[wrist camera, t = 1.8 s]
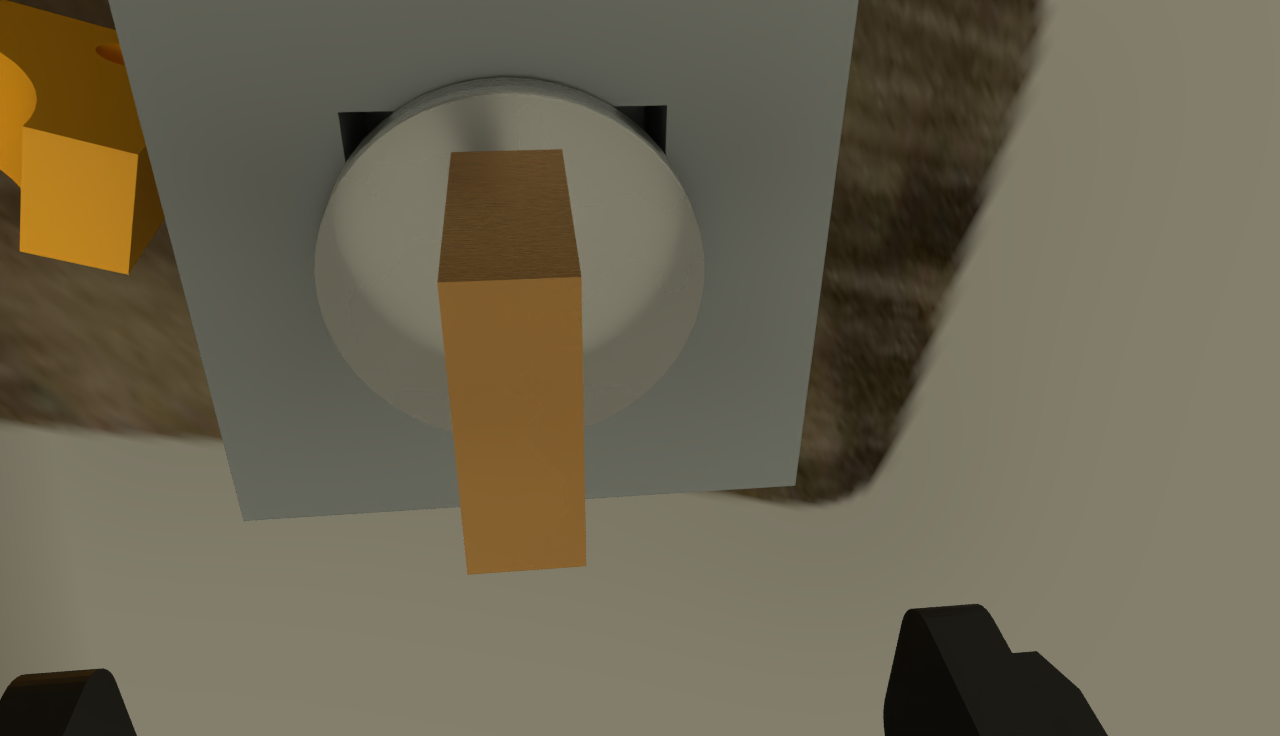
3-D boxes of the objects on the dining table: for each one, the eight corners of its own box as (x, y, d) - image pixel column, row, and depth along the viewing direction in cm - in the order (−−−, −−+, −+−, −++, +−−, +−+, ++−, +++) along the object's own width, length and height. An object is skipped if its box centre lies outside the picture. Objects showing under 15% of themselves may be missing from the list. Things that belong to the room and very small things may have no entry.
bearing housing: (211, -154, 21) (83, -96, 15) (761, -151, 23) (871, -95, 16) (303, 329, 28) (243, 521, 21) (727, 310, 29) (794, 485, 23)
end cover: (321, 29, 19) (213, 222, 12) (677, 25, 20) (781, 204, 12) (367, 337, 23) (307, 628, 15) (665, 323, 23) (741, 596, 16)
